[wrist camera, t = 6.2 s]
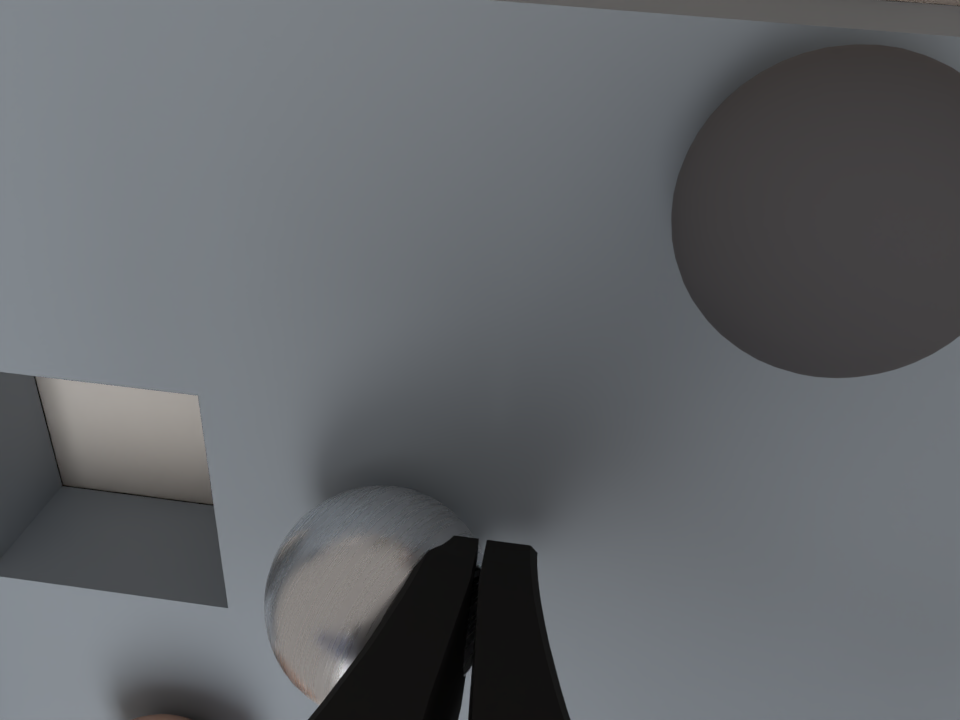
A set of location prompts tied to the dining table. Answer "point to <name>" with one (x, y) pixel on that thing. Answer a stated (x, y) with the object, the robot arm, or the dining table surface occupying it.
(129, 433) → the dining table surface
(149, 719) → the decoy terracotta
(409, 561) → the steel ball
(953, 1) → the dining table surface
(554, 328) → the board
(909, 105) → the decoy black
